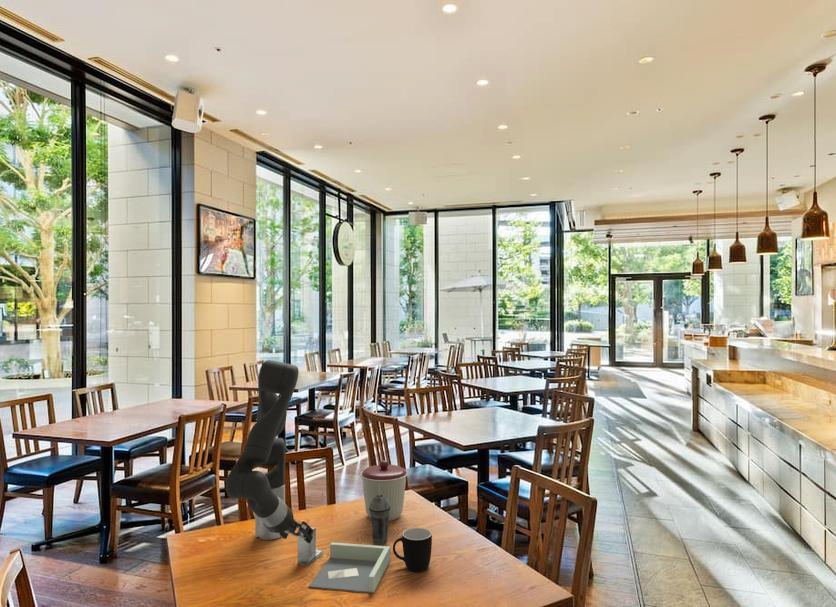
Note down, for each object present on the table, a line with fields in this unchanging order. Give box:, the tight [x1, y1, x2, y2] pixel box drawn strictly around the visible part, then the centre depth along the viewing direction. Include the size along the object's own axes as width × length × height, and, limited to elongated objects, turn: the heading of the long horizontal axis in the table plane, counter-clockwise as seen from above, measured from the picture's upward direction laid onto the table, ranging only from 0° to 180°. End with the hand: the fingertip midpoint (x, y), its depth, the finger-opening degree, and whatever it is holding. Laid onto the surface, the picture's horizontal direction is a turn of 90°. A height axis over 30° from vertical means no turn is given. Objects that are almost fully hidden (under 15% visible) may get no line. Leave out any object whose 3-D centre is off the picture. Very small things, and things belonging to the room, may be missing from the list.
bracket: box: [296, 526, 324, 567], centre depth 164 cm, size 8×4×10 cm, turn 159°
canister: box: [359, 459, 409, 522], centre depth 198 cm, size 18×18×21 cm
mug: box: [392, 527, 433, 573], centre depth 158 cm, size 12×9×10 cm
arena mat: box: [308, 557, 391, 594], centre depth 154 cm, size 19×19×1 cm
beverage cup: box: [369, 483, 390, 546], centre depth 176 cm, size 7×7×20 cm
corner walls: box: [329, 541, 391, 594], centre depth 155 cm, size 19×19×4 cm
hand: (298, 537), depth 158 cm, fingers open, 8 cm apart
